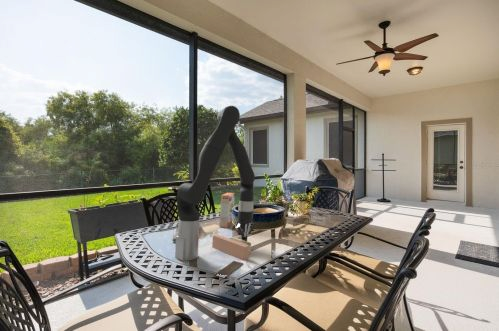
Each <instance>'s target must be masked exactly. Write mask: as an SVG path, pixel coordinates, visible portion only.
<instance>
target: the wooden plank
mask: <svg viewBox="0 0 499 331" xmlns="http://www.w3.org/2000/svg"><path fill="white" fill-rule="evenodd" d="M243 265H244V263H243V262H240V261H236V260H232V261H231V262H230V263H228V264H227V265H225V266H224V267H222V269H219V270H218V271H217V272H215V273H216V274H215V273H214V274H213V276H214V275H217V274H219V275H220V274H221V275H229V274H230V275H232V274H233V273H234V272H235V271H237V270H238V269H239V268H241V266H243ZM233 271H234V272H233ZM232 272H233V273H232ZM230 275H229V276H230Z"/></svg>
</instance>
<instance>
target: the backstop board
mask: <svg viewBox="0 0 499 331" xmlns="http://www.w3.org/2000/svg"><path fill="white" fill-rule="evenodd" d="M229 238H230V237H225V236H224V235H220V234H213V235H212V243H211V244H212V245H211V246H212V249H213V248H214V249H216V250H218V251H220V252H224V253H225V254H228V255H231V256H233V257H235V258H238V259H240V260H241V261H242V260H243V261H246V260H249V256H250V255H249V254H250V253H249V245H246V244H243V243H240V242H237V241H235V240H232V239H229Z"/></svg>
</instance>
